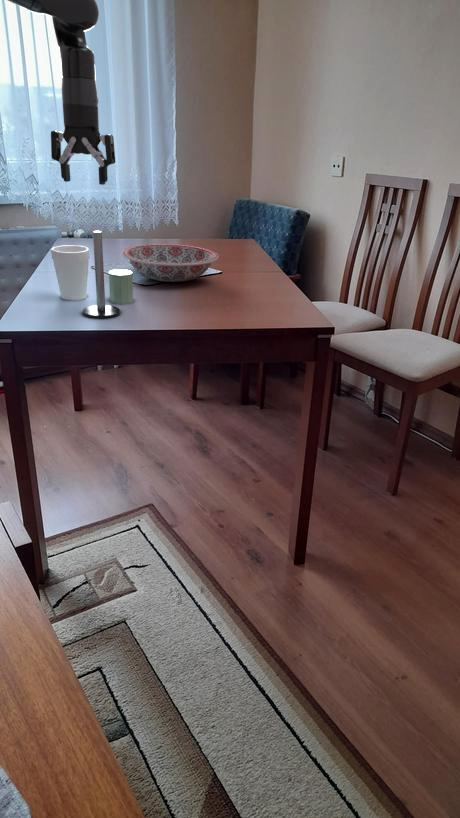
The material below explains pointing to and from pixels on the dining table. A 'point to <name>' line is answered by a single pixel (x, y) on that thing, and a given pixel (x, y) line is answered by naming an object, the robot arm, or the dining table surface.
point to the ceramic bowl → (170, 261)
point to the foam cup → (71, 270)
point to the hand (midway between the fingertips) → (84, 182)
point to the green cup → (121, 286)
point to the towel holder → (100, 285)
